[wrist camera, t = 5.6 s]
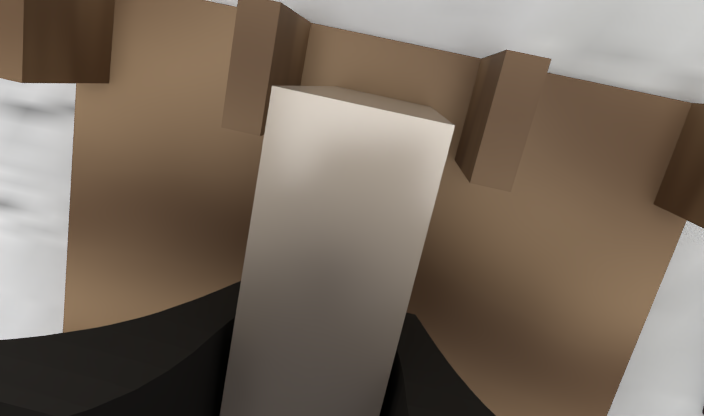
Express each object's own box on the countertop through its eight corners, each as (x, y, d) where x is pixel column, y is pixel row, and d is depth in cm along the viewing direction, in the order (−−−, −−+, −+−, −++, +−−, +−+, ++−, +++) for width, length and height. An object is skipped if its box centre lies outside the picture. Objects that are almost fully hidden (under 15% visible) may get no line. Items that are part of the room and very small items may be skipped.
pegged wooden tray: (547, 510, 16) (593, 648, 12) (78, 390, 16) (-21, 483, 13) (705, 109, 12) (844, 120, 8) (106, -18, 13) (-20, -61, 9)
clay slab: (348, 440, 14) (311, 674, 9) (271, 420, 15) (184, 637, 9) (430, 106, 12) (455, 125, 6) (335, 86, 12) (272, 85, 6)
